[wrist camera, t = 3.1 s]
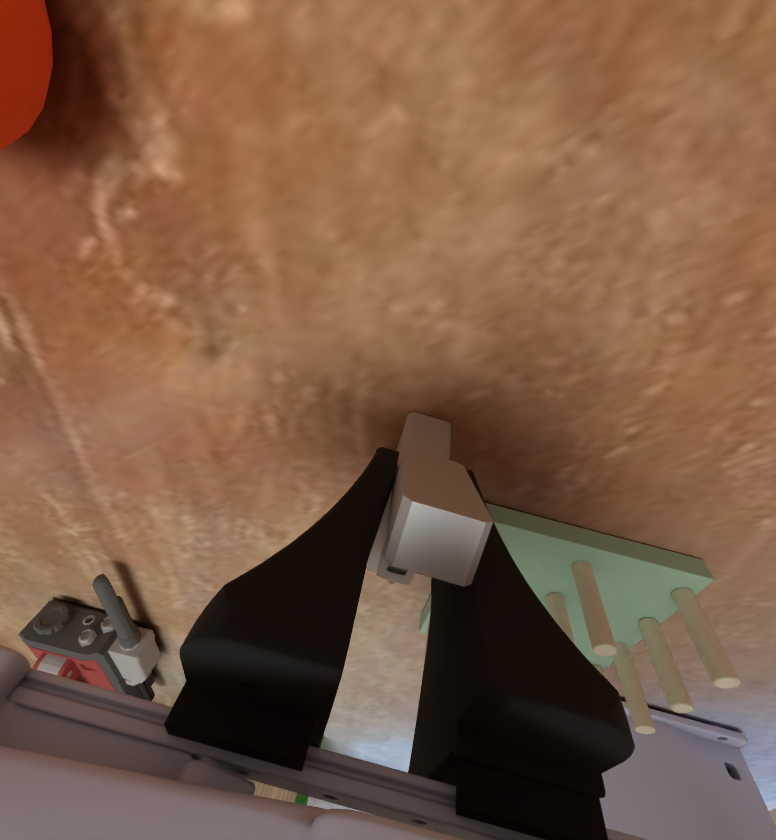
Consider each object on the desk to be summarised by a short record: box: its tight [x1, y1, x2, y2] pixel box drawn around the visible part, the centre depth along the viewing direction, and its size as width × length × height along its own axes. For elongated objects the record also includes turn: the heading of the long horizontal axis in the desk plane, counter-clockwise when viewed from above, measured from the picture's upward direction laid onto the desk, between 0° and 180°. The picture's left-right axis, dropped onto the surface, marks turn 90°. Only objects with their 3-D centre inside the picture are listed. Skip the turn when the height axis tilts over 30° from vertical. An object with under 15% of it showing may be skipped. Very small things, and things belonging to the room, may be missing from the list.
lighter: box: [366, 412, 493, 587], centre depth 12 cm, size 7×2×8 cm, turn 167°
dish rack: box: [419, 503, 740, 734], centre depth 18 cm, size 10×10×4 cm
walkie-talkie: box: [18, 574, 161, 701], centre depth 29 cm, size 9×4×20 cm
